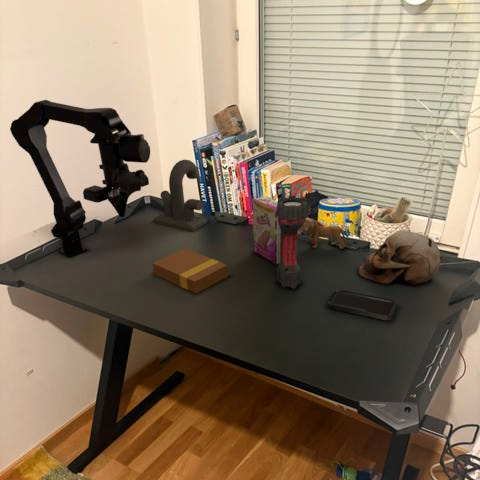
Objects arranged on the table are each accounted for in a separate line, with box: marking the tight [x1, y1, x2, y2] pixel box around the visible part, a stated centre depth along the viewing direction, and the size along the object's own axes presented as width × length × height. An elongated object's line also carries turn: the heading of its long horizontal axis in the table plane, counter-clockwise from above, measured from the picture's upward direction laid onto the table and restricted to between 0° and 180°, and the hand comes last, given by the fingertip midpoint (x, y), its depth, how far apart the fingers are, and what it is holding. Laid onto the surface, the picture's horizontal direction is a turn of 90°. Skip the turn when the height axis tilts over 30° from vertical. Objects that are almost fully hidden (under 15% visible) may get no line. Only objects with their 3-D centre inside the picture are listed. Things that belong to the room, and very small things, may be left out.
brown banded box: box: [152, 248, 229, 294], centre depth 133 cm, size 4×12×17 cm
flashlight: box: [276, 194, 309, 290], centre depth 121 cm, size 8×8×23 cm
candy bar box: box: [251, 195, 281, 265], centre depth 137 cm, size 11×5×16 cm, turn 35°
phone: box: [327, 289, 397, 321], centre depth 116 cm, size 8×1×15 cm
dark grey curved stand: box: [152, 159, 208, 232], centre depth 164 cm, size 18×16×20 cm
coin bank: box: [358, 229, 441, 286], centre depth 125 cm, size 16×17×13 cm
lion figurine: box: [300, 217, 350, 250], centre depth 144 cm, size 15×5×9 cm, turn 87°
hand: (122, 216), depth 137 cm, fingers closed
